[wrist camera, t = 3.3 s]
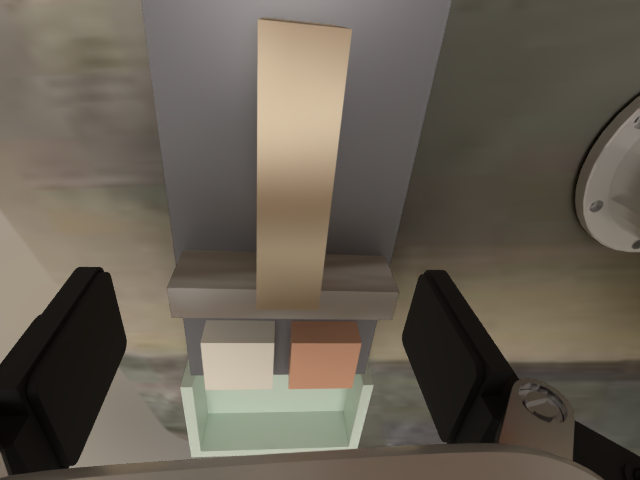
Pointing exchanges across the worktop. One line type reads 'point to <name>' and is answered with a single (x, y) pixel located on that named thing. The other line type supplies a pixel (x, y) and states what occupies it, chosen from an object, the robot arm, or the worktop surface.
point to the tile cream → (238, 354)
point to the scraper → (291, 198)
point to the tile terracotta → (323, 354)
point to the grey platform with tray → (241, 183)
